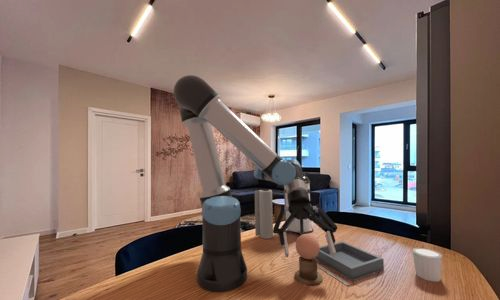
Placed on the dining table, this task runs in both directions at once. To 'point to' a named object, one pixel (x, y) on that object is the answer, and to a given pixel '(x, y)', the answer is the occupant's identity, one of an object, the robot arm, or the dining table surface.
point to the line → (333, 275)
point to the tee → (308, 272)
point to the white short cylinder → (427, 264)
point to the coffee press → (295, 225)
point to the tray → (350, 261)
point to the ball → (307, 246)
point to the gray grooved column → (263, 214)
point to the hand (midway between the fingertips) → (310, 255)
